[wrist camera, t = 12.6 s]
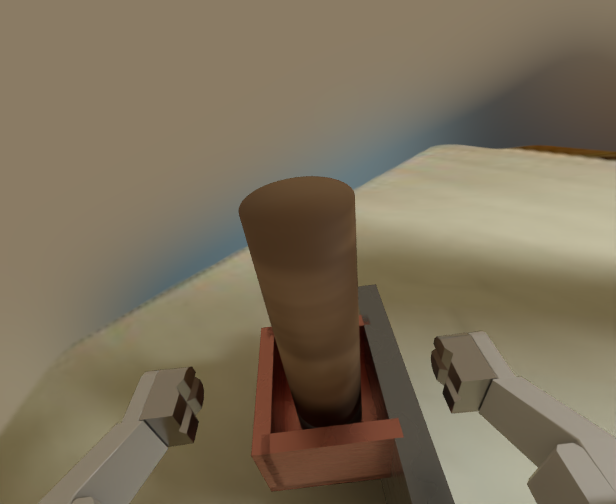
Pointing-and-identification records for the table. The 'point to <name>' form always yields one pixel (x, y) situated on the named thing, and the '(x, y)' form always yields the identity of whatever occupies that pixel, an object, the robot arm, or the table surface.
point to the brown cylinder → (310, 291)
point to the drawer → (350, 437)
